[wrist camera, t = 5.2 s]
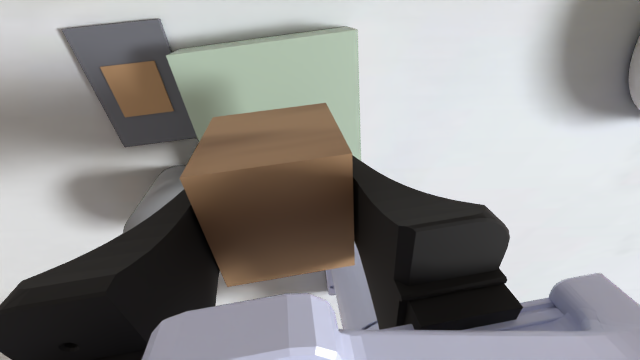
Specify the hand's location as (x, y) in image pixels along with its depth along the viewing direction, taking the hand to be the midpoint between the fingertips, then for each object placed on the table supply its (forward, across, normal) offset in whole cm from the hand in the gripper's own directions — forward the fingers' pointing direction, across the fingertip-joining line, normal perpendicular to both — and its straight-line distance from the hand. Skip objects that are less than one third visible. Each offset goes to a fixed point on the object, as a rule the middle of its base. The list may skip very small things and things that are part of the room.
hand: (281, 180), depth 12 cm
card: (+8, +8, -3) cm, 12 cm away
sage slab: (+9, 0, 0) cm, 9 cm away
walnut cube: (+2, 0, 0) cm, 2 cm away
